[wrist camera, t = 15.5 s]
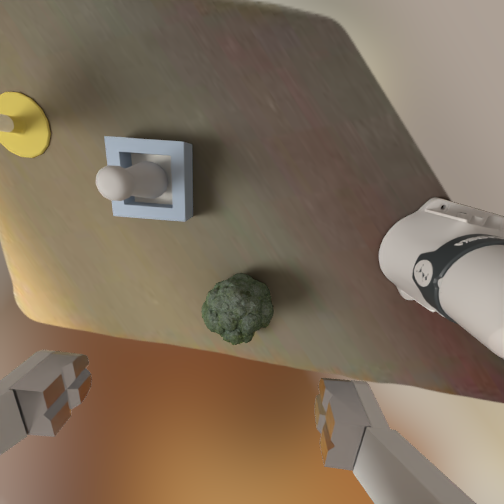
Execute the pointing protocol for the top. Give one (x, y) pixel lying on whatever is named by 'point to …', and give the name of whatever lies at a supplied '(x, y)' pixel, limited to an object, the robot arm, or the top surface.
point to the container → (175, 166)
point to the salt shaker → (132, 181)
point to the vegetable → (237, 308)
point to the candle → (23, 125)
